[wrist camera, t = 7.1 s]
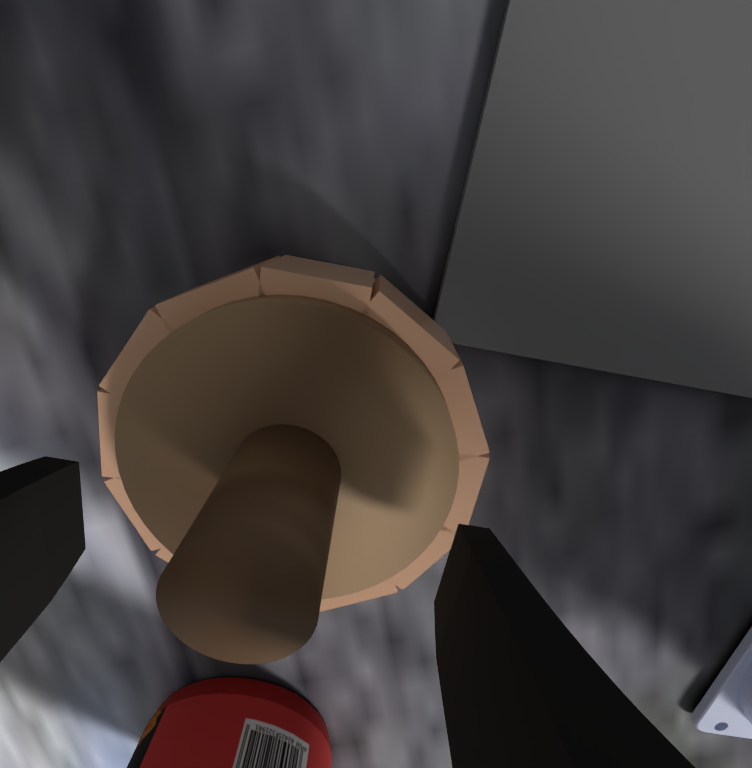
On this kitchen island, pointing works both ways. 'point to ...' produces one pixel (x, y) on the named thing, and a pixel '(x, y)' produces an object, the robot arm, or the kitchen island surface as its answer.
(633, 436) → the kitchen island surface
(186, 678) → the kitchen island surface
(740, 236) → the mat
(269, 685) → the canned food
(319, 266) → the tan round bowl
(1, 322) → the kitchen island surface
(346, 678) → the kitchen island surface
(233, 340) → the lid
